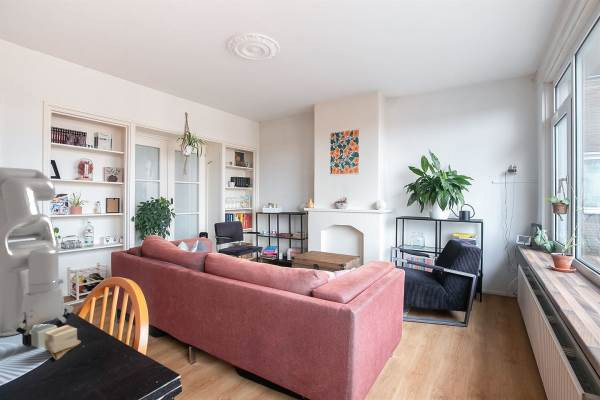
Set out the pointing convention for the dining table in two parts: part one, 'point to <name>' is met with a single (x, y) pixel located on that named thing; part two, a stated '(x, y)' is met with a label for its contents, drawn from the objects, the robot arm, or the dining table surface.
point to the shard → (62, 351)
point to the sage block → (40, 335)
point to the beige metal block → (60, 338)
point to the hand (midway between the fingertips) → (44, 339)
